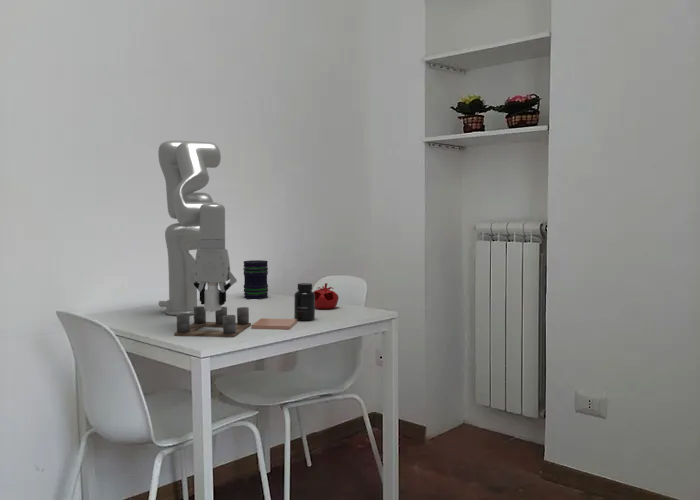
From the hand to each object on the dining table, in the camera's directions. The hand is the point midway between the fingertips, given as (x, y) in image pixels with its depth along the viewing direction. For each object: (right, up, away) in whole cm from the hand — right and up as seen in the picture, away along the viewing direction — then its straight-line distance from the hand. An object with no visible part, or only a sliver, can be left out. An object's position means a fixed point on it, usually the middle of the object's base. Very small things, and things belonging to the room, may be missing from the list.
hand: (212, 303), depth 196 cm
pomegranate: (+33, -5, +41) cm, 53 cm away
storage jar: (+3, -3, +67) cm, 67 cm away
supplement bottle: (+27, -7, +18) cm, 33 cm away
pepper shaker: (0, -2, 0) cm, 2 cm away
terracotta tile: (+18, -8, +8) cm, 21 cm away
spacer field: (0, -8, 0) cm, 8 cm away
